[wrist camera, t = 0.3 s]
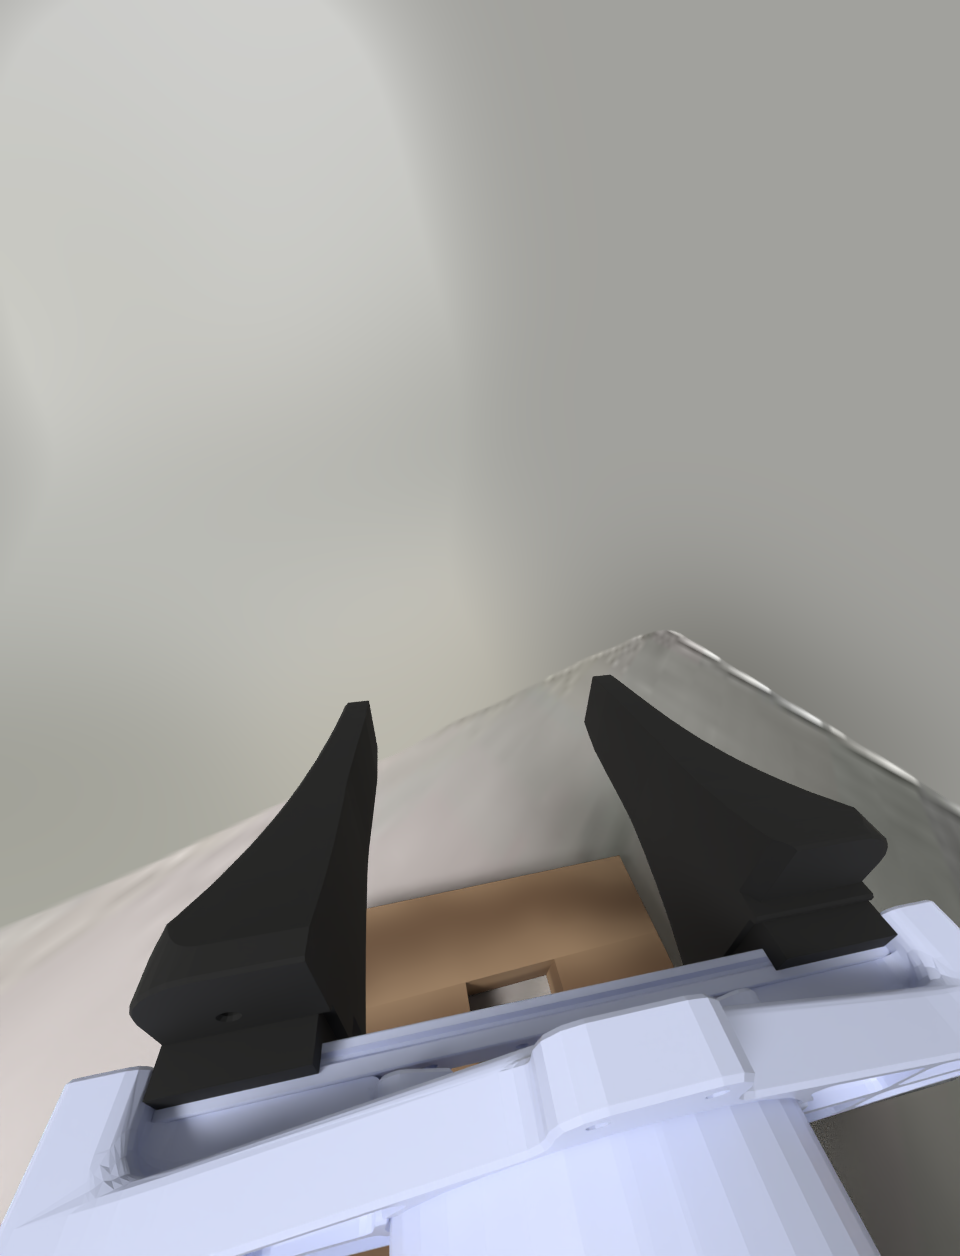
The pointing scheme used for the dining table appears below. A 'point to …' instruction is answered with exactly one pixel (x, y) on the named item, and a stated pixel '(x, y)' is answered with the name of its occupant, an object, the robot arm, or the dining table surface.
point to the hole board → (505, 943)
